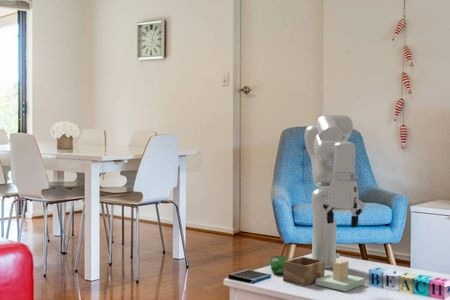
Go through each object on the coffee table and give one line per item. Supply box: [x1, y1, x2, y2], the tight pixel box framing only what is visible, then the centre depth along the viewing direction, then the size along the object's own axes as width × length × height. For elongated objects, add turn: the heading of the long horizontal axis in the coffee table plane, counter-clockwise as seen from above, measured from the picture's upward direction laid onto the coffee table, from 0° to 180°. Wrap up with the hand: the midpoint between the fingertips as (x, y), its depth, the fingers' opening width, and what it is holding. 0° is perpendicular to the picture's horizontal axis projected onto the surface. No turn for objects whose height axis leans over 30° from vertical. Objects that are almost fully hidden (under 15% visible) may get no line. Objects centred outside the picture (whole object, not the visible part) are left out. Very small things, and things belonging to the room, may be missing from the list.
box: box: [282, 256, 326, 287], centre depth 210 cm, size 12×10×7 cm
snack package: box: [269, 255, 289, 274], centre depth 223 cm, size 7×16×5 cm, turn 178°
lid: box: [315, 259, 366, 292], centre depth 204 cm, size 14×12×8 cm
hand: (342, 225), depth 204 cm, fingers open, 9 cm apart
